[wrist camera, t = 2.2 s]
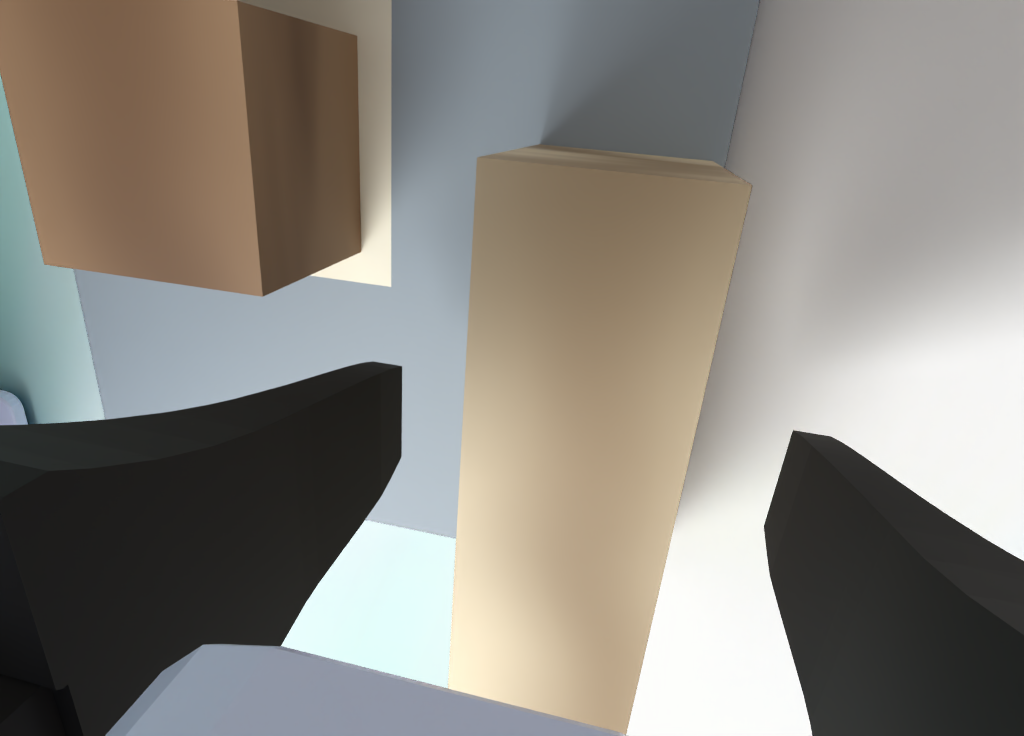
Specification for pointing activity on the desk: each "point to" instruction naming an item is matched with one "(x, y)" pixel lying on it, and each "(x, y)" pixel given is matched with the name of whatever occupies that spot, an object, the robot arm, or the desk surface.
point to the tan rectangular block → (581, 414)
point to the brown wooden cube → (185, 139)
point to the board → (428, 205)
